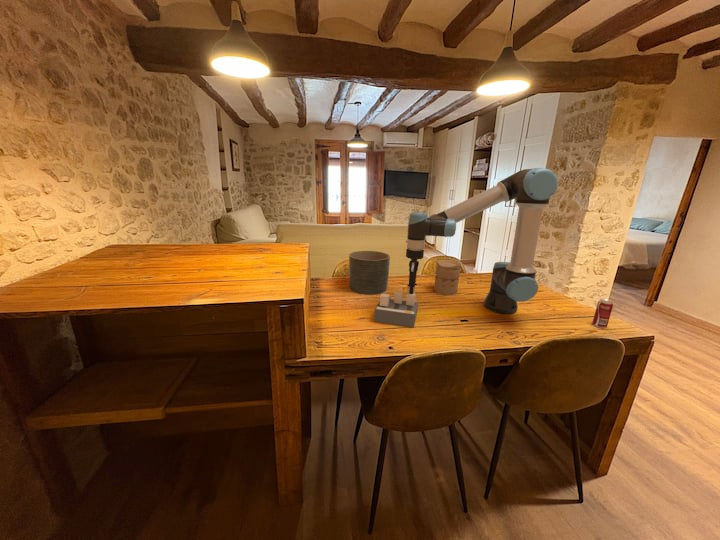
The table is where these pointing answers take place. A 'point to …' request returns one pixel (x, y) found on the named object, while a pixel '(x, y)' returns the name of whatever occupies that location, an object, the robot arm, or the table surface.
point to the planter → (368, 272)
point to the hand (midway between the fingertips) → (410, 299)
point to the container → (447, 277)
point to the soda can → (602, 313)
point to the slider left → (384, 300)
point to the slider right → (410, 299)
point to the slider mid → (398, 297)
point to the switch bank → (396, 313)
